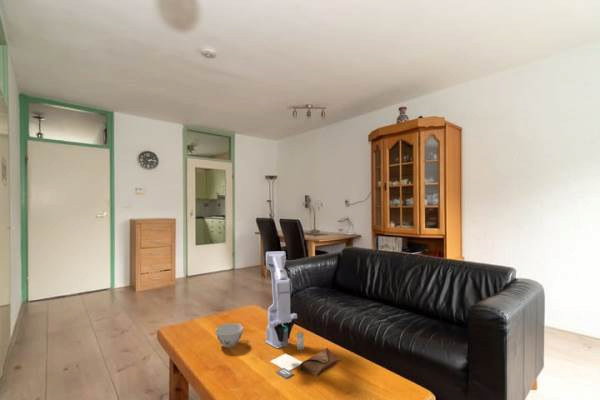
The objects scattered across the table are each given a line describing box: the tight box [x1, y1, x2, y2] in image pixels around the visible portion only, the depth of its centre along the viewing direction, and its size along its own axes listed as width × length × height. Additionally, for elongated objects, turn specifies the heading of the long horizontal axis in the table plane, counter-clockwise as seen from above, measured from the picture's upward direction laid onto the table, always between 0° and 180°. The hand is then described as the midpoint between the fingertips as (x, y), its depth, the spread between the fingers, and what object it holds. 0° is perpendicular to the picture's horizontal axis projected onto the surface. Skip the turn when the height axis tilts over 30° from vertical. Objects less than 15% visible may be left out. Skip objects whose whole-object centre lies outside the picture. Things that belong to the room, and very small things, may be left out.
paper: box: [269, 353, 303, 372], centre depth 125 cm, size 11×9×1 cm
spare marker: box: [296, 330, 305, 351], centre depth 138 cm, size 3×3×7 cm
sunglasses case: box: [299, 347, 341, 378], centre depth 124 cm, size 18×7×7 cm
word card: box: [275, 368, 294, 380], centre depth 117 cm, size 6×4×1 cm, turn 45°
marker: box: [280, 326, 289, 347], centre depth 127 cm, size 3×3×7 cm
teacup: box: [215, 322, 244, 349], centre depth 142 cm, size 15×12×8 cm
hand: (283, 339), depth 127 cm, fingers closed on marker, 3 cm apart
